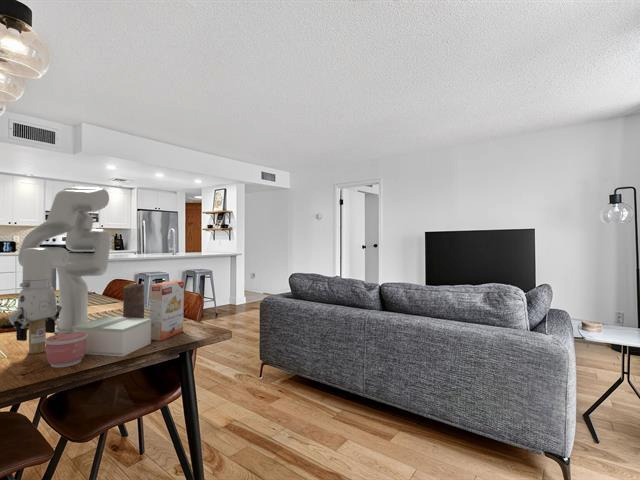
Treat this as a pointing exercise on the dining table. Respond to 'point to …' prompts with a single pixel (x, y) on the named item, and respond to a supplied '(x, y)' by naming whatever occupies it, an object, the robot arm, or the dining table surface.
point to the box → (117, 341)
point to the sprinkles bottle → (37, 336)
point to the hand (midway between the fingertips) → (36, 336)
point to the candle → (133, 301)
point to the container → (65, 349)
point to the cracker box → (166, 309)
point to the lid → (112, 324)
